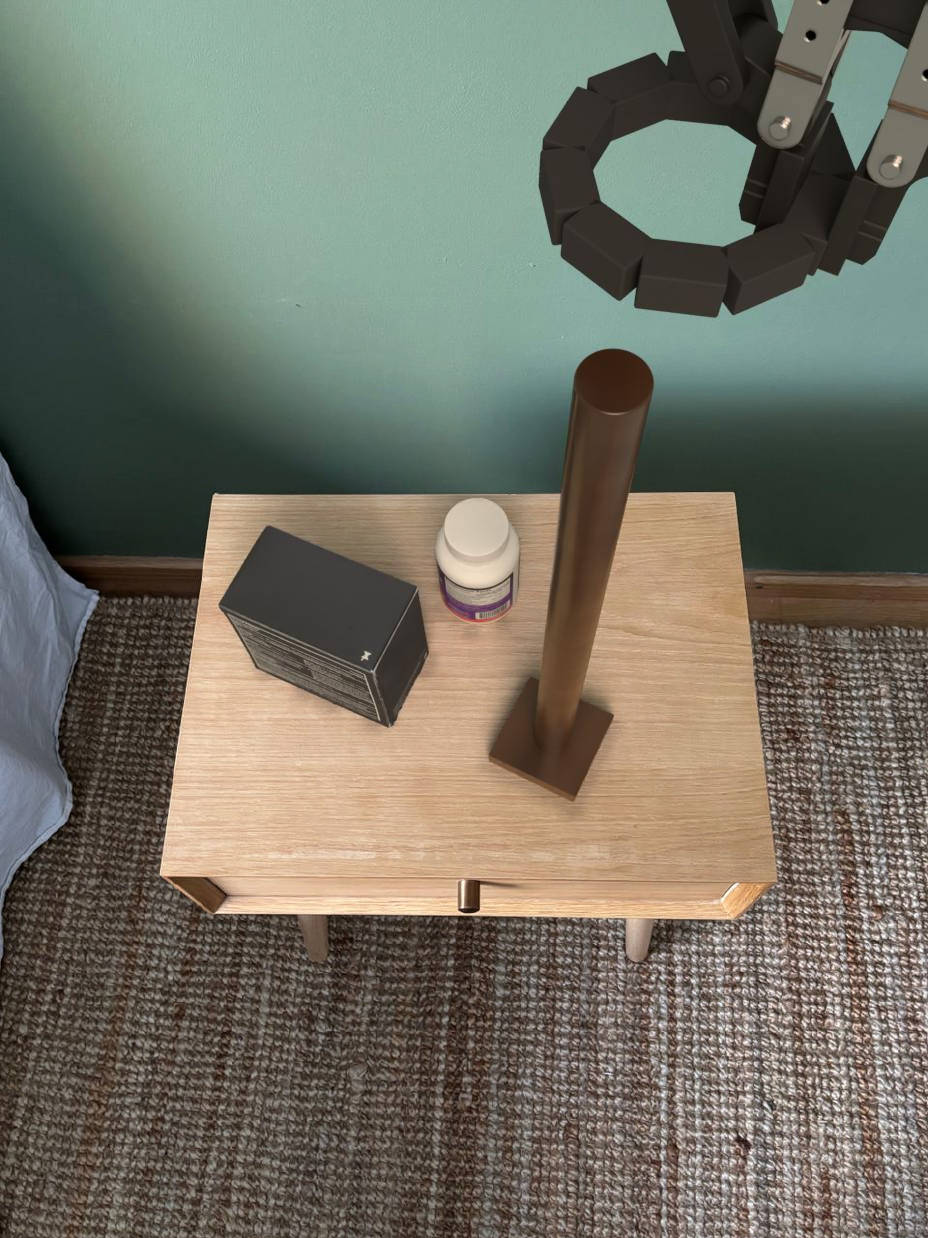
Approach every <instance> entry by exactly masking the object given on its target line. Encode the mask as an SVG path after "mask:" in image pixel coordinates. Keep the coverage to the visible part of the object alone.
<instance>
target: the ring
mask: <svg viewBox="0 0 928 1238" xmlns="http://www.w3.org/2000/svg"><path fill="white" fill-rule="evenodd" d="M586 81H587V82H586V88H585V87H582V86H576V87H575V88H574V90H573V91H572V93H571V95H570V96H569V97H568V99H567V101H566V102H565V104H564V105H563V107H562V108H561V109H560V111H559V113H558V114H557V116H556V118H555V119H554V120H553V122H552V123H551V125H550V127H549V128H548V130H547V131H546V133H545V134H544V136H543V137H542V144H541V150H540V153H539V166H538V167H539V168H538V184H537V185H538V191H539V195H540V199H541V204H542V207H543V208H542V209H543V213H544V217H545V221H546V226H547V229H548V234H549V238H550V242H551V245H552V246H560V258H561V259H563V260H564V261H565V262H566V263H567V264H569V265H570V266H571V267H573V268H574V269H575V270H577V271H578V272H579V273H581V274H582V275H583V276H585V277H586V278H587V279H589V281H591V282H593V284H595V285H596V286H597V287H599V288H600V289H602V290H603V291H604V292H605V293H607V294H608V295H609V296H611V297H612V298H613V299H614V300H616V301H618V302H621V301H622V300H623V299H625V298H626V297H627V296H628V295H630V294H631V293H632V292H633V291H635V294H634V301H633V306H634V307H633V308H634V309H639V310H646V311H654V312H663V313H670V314H680V315H688V316H695V317H704V318H711V319H716V318H718V317H719V314H720V312H721V311H720V310H721V307H722V305H724V306H725V308H726V309H727V310H728V312H729V313H730V314H731V316H736V315H739V314H740V313H743V312H745V311H748V310H750V309H752V308H754V307H757V306H759V305H761V304H764V303H766V302H768V301H770V300H773V299H775V298H777V297H780V296H782V295H784V294H786V293H789V292H791V291H793V290H796V289H798V288H800V287H802V286H803V285H804V283H805V281H806V279H807V276H810V277H815V275H816V273H817V271H818V269H817V268H818V265H819V263H820V260H821V258H822V256H823V253H824V251H825V248H826V246H827V244H828V242H827V241H826V240H827V238H828V235H829V233H830V231H831V228H832V226H833V223H834V221H835V219H836V216H837V214H838V211H839V209H840V207H841V204H842V202H843V200H844V197H845V195H846V192H847V190H848V188H849V185H850V183H851V180H852V178H853V176H854V174H855V172H856V170H857V169H856V168H855V165H854V162H853V160H852V157H851V155H850V152H849V149H848V147H847V144H846V141H845V139H844V136H843V134H842V131H841V128H840V126H839V123H838V120H837V118H836V115H835V113H834V112H831V114H830V117H829V119H828V122H827V125H826V127H825V130H824V133H823V136H822V138H821V141H820V144H819V147H818V149H817V152H816V155H815V157H814V160H813V163H812V166H811V168H810V171H809V173H808V175H807V177H806V179H805V181H804V183H803V184H802V186H801V188H800V190H799V192H798V194H797V196H796V198H795V200H794V202H793V204H792V206H791V207H790V209H789V211H788V213H787V215H786V217H785V219H784V221H783V223H782V224H778V223H777V224H775V225H773V226H770V227H768V228H766V229H763V230H761V231H759V232H756V233H754V234H753V233H751V234H750V235H747V236H745V237H742V238H740V239H737V240H735V241H733V242H731V243H728V244H725V245H724V246H723V245H713V244H706V243H705V244H704V243H697V242H696V243H695V242H688V241H679V240H672V239H671V240H670V239H662V238H654V237H651V236H650V235H648V234H647V233H645V232H644V231H643V230H642V229H640V228H639V227H637V226H636V225H634V224H633V223H632V222H630V221H629V220H628V219H626V218H625V217H623V215H621V214H620V213H618V212H617V211H616V210H614V209H613V208H611V207H610V206H609V205H607V204H606V203H604V201H602V199H601V195H600V191H599V188H598V183H597V180H596V176H595V172H594V170H595V168H596V167H597V165H598V163H599V162H600V160H601V158H602V157H603V155H604V153H605V152H606V150H607V149H608V147H609V145H610V144H611V142H613V141H616V140H618V139H621V138H623V137H626V136H628V135H630V134H633V133H637V132H638V131H641V130H643V129H645V128H649V127H651V126H654V125H656V124H658V123H661V122H663V121H675V122H686V123H696V124H704V125H713V126H724V127H727V128H730V129H731V130H733V131H734V132H736V133H737V134H739V135H740V136H742V137H743V138H745V139H746V140H747V141H749V142H750V143H752V144H754V145H755V146H756V145H757V141H758V137H759V133H758V129H757V122H756V120H755V119H754V117H753V116H752V115H751V113H750V112H749V111H747V110H746V109H745V108H743V107H742V106H741V105H739V104H738V103H737V102H736V103H734V104H732V105H730V106H717V105H714V104H712V103H710V102H708V101H707V100H706V99H705V98H704V97H703V96H702V94H701V93H700V90H699V88H698V85H697V83H696V80H695V77H694V74H693V72H692V69H691V66H690V64H689V61H688V58H687V56H686V53H685V50H684V51H682V50H670V51H669V53H668V57H667V62H666V63H665V62H664V61H663V59H662V58H661V57H660V56H659V54H658V53H657V52H655V51H653V52H651V53H649V54H646V55H643V56H641V57H639V58H636V59H633V60H631V61H628V62H625V63H623V64H620V65H618V66H615V67H613V68H609V69H608V70H604V71H602V72H600V73H597V74H594V75H591V76H590V77H588V78H587V80H586Z"/></svg>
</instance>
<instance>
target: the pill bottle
mask: <svg viewBox="0 0 928 1238" xmlns="http://www.w3.org/2000/svg"><path fill="white" fill-rule="evenodd" d="M434 548H435V549H434V551H435V552H434V554H435V561H436V565H437V573H438V582H439V588H440V589H439V590H440V594H441V598H442V602H443V604H444V606H445V608H446V609H447V610H448V612H449V613H450V614H451V615H452V616H454V617H455V618H456V619H458V620H460V621H461V622H464V623H467V624H469V625H470V624H471V625H475V626H476V625H480V626H481V625H482V626H483V625H489V624H493V623H495V622H498V621H500V620H501V619H503V618H504V617H505V616H507V615H508V613H510V612H511V610H512V609H513V607H514V606H515V604H516V602H517V598H518V595H519V590H520V589H519V588H520V558H521V544H520V539H519V535H518V533H517V531H516V529H515V527H514V526H513V524H512V523H511V522H510V521H509V518H508V515H507V514H506V511H505V510H504V509H503V508H502V506H500V505H499V504H498V503H496V502H495V501H493V500H490V499H488V498H485V497H470V498H469V497H468V498H466V499H463V500H461V501H459V502H457V503H456V504H455V505H453V506H452V507H451V508H450V510H449V511H448V513H447V514H446V516H445V519H444V523H443V524H442V526H441V528H440V530H439V531H438V534H437V537H436V541H435V547H434Z"/></svg>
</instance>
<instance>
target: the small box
mask: <svg viewBox="0 0 928 1238" xmlns="http://www.w3.org/2000/svg"><path fill="white" fill-rule="evenodd" d="M419 592H420V589H419V586H417V585H415V584H413V583H410V582H409V581H405V580H403V579H400V578H399V577H396V576H393V575H391V574H388V573H386V572H384V571H382V570H378V569H376V568H373V567H371V566H369V565H366V564H364V563H362V562H359V561H357V560H354V559H352V558H349V557H348V556H344V555H342V554H340V553H336V552H335V551H332V550H331V549H328V548H325V547H323V546H320V545H318V544H316V543H313V542H311V541H309V540H306V539H303V538H301V537H299V536H296V535H295V534H291V533H290V532H287V531H285V530H282V529H280V528H278V527H275V526H273V525H270V524H268V525H266V526H265V527H264V529H263V530H262V532H261V533H260V534H259V536H258V538H257V539H256V540H255V542H254V544H253V546H252V547H251V549H250V551H249V552H248V554H247V556H246V557H245V559H244V560H243V563H242V564H241V565H240V566H239V569H238V570H237V572H236V574H235V575H234V577H233V578H232V580H231V582H230V583H229V585H228V587H227V588H226V590H225V592H224V593H223V595H222V597H221V599H220V601H219V602H218V605H217V606H218V609H219V610H220V611H221V612H222V613H223V614H224V616H225V617H226V619H227V620H228V621H229V623H230V625H231V626H232V628H233V630H234V632H235V634H236V635H237V636H238V638H239V640H240V642H241V643H242V645H243V647H244V648H245V651H246V652H247V654H248V655H249V657H250V659H251V661H252V663H253V665H254V667H255V669H257V670H259V671H262V672H264V673H266V674H268V675H269V676H272V677H274V678H276V679H279V680H281V681H283V682H285V683H287V684H290V685H292V686H294V687H296V688H297V689H301V690H303V691H305V692H307V693H310V694H312V695H314V696H316V697H318V698H320V699H323V700H325V701H327V702H329V703H331V704H333V705H336V706H338V707H340V708H343V709H345V710H347V711H349V712H352V713H353V714H356V715H358V716H359V717H362V718H364V719H368V720H370V721H372V722H375V723H376V724H379V725H381V726H384V727H385V728H387V729H388V728H391V727H393V726H394V725H395V723H396V722H397V719H398V717H399V714H400V711H401V710H402V709H403V705H404V703H405V702H406V699H407V697H408V696H409V693H410V691H411V689H412V688H413V687H414V685H415V681H416V680H417V678H418V677H419V676H420V674H421V672H422V670H423V668H424V666H425V663H426V660H427V658H428V656H429V653H430V649H429V646H428V640H427V634H426V628H425V622H424V616H423V610H422V609H423V608H422V603H421V598H420V593H419Z"/></svg>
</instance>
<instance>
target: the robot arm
mask: <svg viewBox="0 0 928 1238" xmlns="http://www.w3.org/2000/svg"><path fill="white" fill-rule="evenodd" d="M665 1H666V4H667V7H668V9H669V12H670V15H671V18H672V20H673V23H674V26H675V28H676V32H677V34H678V36H679V39H680V42H681V45H682V47H683V50H684V52H685V53H686V56H687V58H688V61H689V64H690V66H691V69H692V72H693V74H694V77H695V80H696V83H697V85H698V88H699V90H700V93H701V94H702V96H703V97H704V98H705V99H706V100H707V101H708V102H710V103H712V104H714V105H717V106H730V105H732V104H734V103H736V102H737V103H738V104H739V105H741V106H742V107H743V108H745V109H746V110H747V111H749V112H750V113H751V115H752V116H753V117H754V119H755V120H756V122H757V129H758V133H759V137H758V141H757V145H755V149H754V152H753V155H752V159H751V162H750V165H749V168H748V172H747V175H746V179H745V182H744V185H743V189H742V192H741V194H740V195H741V196H740V199H739V202H738V210H739V216H740V221H742V222H744V223H747V224H749V225H752V226H754V229H753V232H752V234H754V233H756V232H759V231H761V230H763V229H766V228H768V227H770V226H773V225H775V224H777V223H778V224H782V223H783V221H784V219H785V217H786V215H787V213H788V211H789V209H790V207H791V206H792V204H793V202H794V200H795V198H796V196H797V194H798V192H799V190H800V188H801V186H802V184H803V183H804V181H805V179H806V177H807V175H808V173H809V171H810V168H811V166H812V163H813V160H814V157H815V155H816V152H817V149H818V147H819V144H820V141H821V138H822V136H823V133H824V130H825V127H826V125H827V122H828V119H829V117H830V114H831V113H832V111H833V109H834V105H835V102H834V101H830V100H828V97H829V94H830V91H831V88H832V85H833V81H834V79H835V77H836V75H837V72H838V70H839V67H840V64H841V62H842V59H843V57H844V55H845V52H846V49H847V47H848V44H849V41H850V40H851V37H852V35H853V31H854V32H855V31H856V32H870V33H880V34H882V35H883V36H885V37H887V38H888V39H890V40H892V41H893V42H894V43H897V44H898V45H899V46H901V47H903V48H904V49H905V50H907V51H906V54H905V56H904V59H903V61H902V64H901V66H900V69H899V72H898V75H897V77H896V79H895V82H894V85H893V87H892V90H891V93H890V96H889V99H888V102H887V108H886V110H885V113H884V116H883V118H881V120H880V122H879V123H878V126H877V128H876V129H875V132H874V134H873V136H872V138H871V140H870V142H869V144H868V146H867V148H866V150H865V152H864V153H863V155H862V158H861V160H860V162H859V164H858V166H857V168H856V169H855V170H856V172H855V174H854V176H853V178H852V180H851V183H850V185H849V188H848V190H847V192H846V195H845V197H844V200H843V202H842V204H841V207H840V209H839V211H838V214H837V216H836V219H835V221H834V223H833V226H832V228H831V231H830V233H829V235H828V238H827V240H826V241H827V242H828V244H827V246H826V248H825V251H824V253H823V256H822V258H821V260H820V263H819V265H818V268H817V270H819V271H822V272H825V273H828V274H830V275H833V276H835V277H839V275H840V273H841V271H842V269H843V267H844V265H845V262H846V261H850V262H853V263H855V264H858V265H861V266H864V265H865V264H866V263H868V262H869V261H870V260H871V259H873V258H875V256H876V255H877V253H878V251H879V249H880V247H881V245H882V243H883V242H884V239H885V238H886V235H887V233H888V231H889V229H890V227H891V224H892V222H893V221H894V218H895V217H896V214H897V213H898V210H899V208H900V207H901V204H902V202H903V200H904V198H905V196H906V194H907V192H908V191H909V189H910V187H911V186H912V185H914V183H916V182H918V181H920V180H922V179H925V178H928V0H794V1H793V4H792V6H791V10H790V13H789V16H788V18H787V22H786V25H785V28H784V31H783V33H782V32H781V31H780V30H779V21H778V17H777V14H776V11H775V10H776V9H775V8H774V7H775V6H774V4H773V0H665Z"/></svg>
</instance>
